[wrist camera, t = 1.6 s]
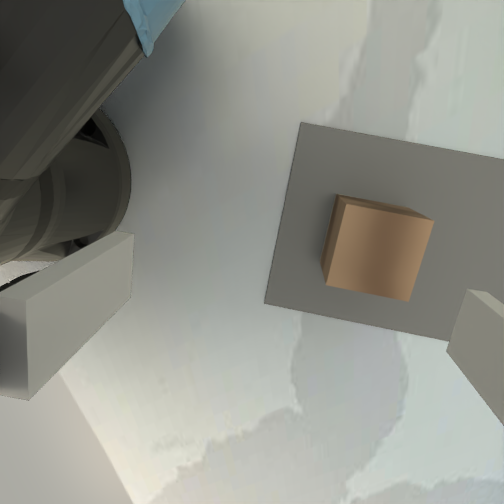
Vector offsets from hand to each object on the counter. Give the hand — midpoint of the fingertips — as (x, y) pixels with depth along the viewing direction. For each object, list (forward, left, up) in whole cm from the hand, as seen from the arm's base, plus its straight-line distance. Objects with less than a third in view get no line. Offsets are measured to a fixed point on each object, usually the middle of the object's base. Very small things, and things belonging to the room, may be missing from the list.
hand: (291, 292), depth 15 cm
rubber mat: (+11, -1, -19) cm, 22 cm away
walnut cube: (+6, -1, -18) cm, 19 cm away
